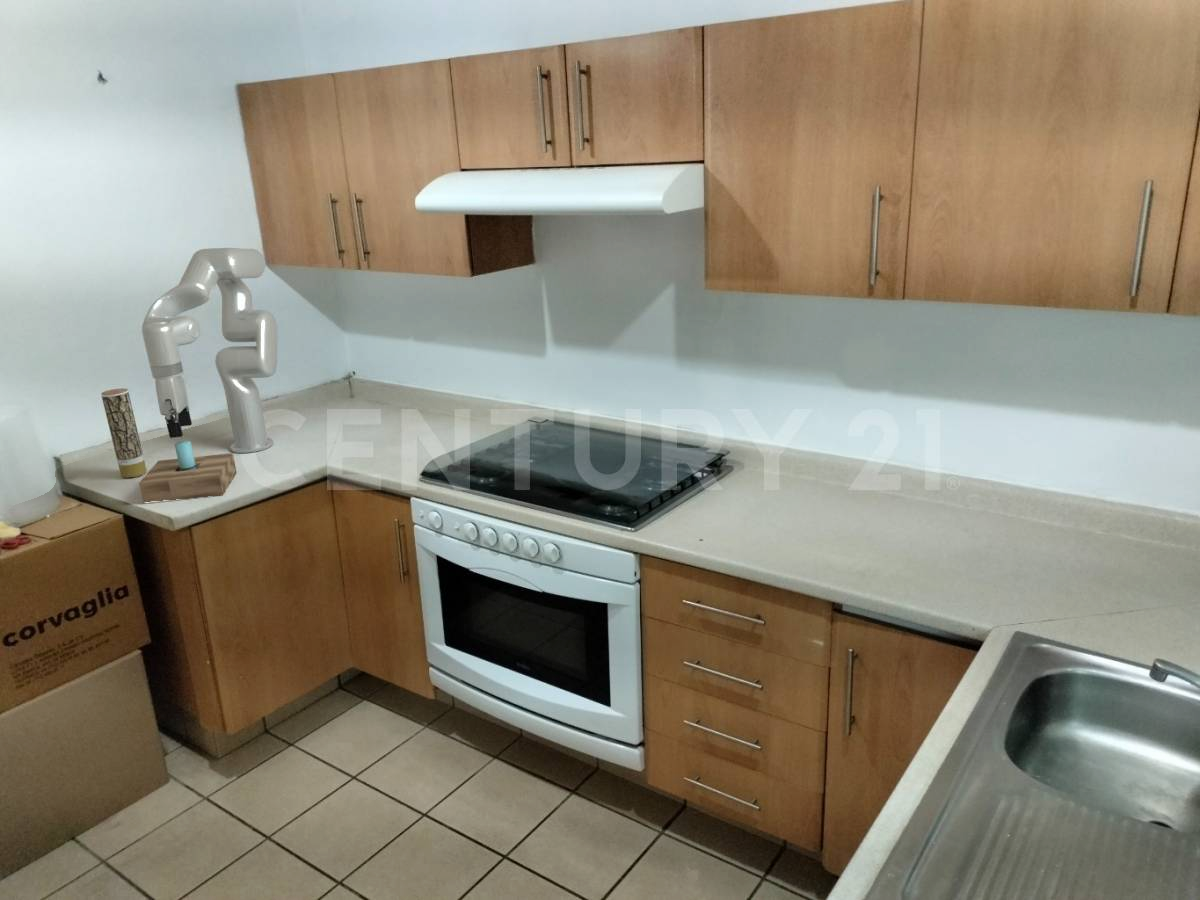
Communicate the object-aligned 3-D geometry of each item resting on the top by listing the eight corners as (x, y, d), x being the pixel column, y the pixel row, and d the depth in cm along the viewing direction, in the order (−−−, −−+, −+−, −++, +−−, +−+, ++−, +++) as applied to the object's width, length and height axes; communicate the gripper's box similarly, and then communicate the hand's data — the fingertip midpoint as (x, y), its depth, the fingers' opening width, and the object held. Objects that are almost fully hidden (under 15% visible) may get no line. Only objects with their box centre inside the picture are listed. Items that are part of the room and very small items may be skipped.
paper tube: (136, 479, 257) (116, 394, 249) (115, 478, 259) (95, 394, 251) (152, 471, 264) (133, 388, 256) (131, 470, 265) (112, 388, 257)
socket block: (163, 480, 255) (158, 460, 253) (236, 472, 258) (232, 453, 256) (143, 503, 238) (139, 482, 236) (223, 495, 241) (218, 474, 239)
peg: (185, 482, 250) (176, 441, 246) (201, 481, 250) (192, 440, 246) (181, 487, 246) (172, 446, 242) (197, 486, 246) (188, 444, 242)
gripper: (161, 363, 245) (175, 422, 251) (142, 380, 229) (157, 443, 235) (190, 360, 246) (203, 420, 252) (173, 377, 230) (187, 440, 236)
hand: (181, 431), depth 244 cm, fingers open, 9 cm apart
